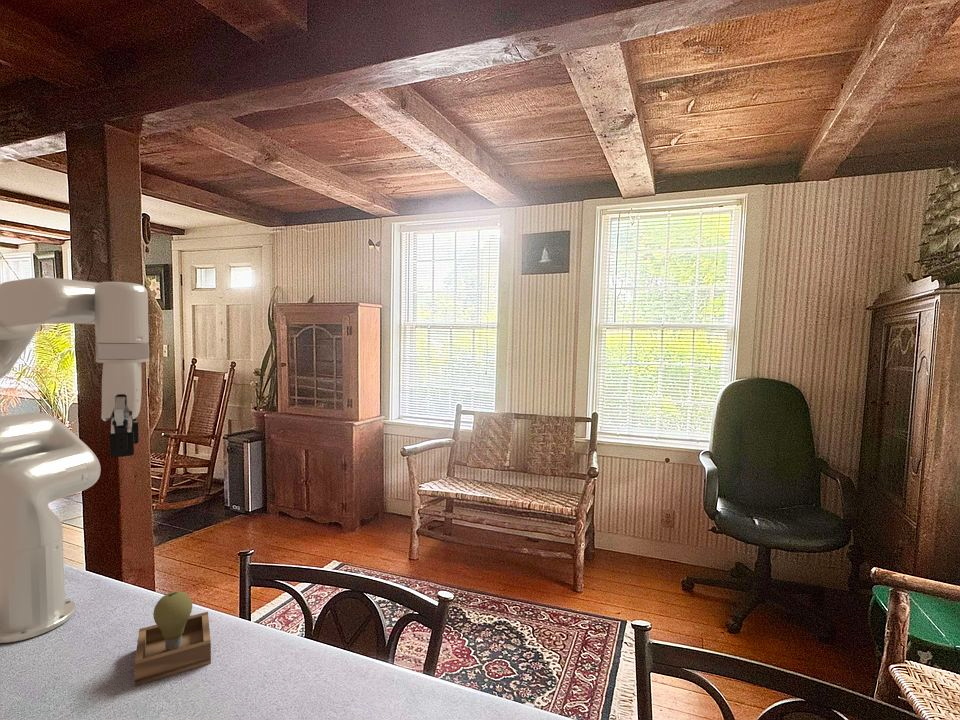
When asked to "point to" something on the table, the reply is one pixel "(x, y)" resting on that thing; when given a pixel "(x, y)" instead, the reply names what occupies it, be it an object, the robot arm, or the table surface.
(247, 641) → the table surface
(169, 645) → the light bulb
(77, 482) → the robot arm
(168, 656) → the open wooden box
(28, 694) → the table surface
